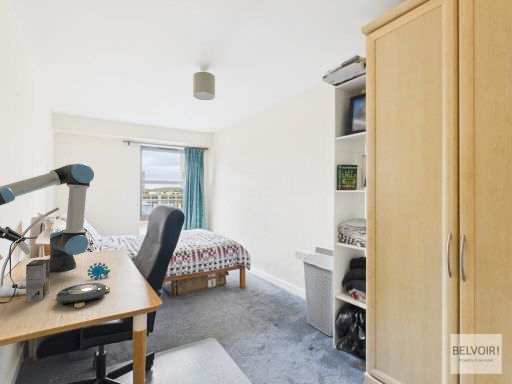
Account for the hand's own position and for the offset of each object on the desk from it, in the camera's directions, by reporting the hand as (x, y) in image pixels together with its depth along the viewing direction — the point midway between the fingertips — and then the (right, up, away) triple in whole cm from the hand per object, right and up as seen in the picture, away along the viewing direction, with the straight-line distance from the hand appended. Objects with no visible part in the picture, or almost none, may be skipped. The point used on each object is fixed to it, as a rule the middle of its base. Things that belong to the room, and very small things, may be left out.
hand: (15, 256), depth 121 cm
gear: (+21, -19, +28) cm, 40 cm away
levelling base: (+30, -19, -2) cm, 35 cm away
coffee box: (+11, -19, -1) cm, 22 cm away
